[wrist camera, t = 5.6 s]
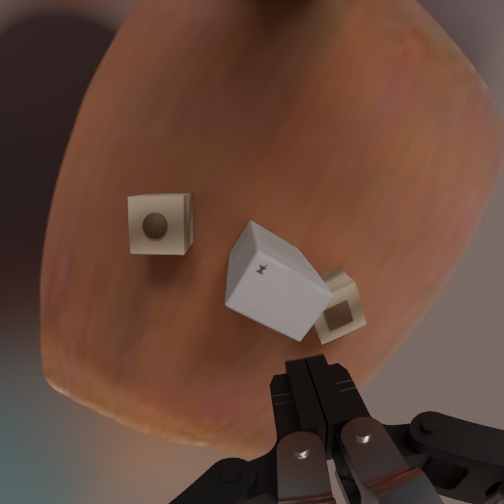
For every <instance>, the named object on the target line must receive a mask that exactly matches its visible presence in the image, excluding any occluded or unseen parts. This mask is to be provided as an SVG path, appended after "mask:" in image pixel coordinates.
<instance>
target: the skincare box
mask: <svg viewBox="0 0 504 504" xmlns="http://www.w3.org/2000/svg"><path fill="white" fill-rule="evenodd" d="M333 298H334V294H333V293H332V292H331V290H330V289H329V288H328V287H327V285H326V284H325V282H324V281H323V280H322V279H321V277H320V276H319V275H318V273H317V272H316V271H315V270H314V268H313V267H312V266H311V265H310V263H309V262H308V261H307V259H306V258H305V257H304V256H303V254H302V253H301V252H300V251H299V249H298V248H296V247H295V246H293V245H291V244H290V243H288V242H287V241H285V240H283V239H282V238H280V237H278V236H277V235H275V234H273V233H272V232H270V231H268V230H267V229H265V228H263V227H262V226H260V225H258V224H256V223H255V222H253V221H251V220H250V221H249V222H248V224H247V225H246V227H245V229H244V230H243V232H242V233H241V235H240V237H239V238H238V240H237V242H236V244H235V245H234V247H233V249H232V250H231V252H230V254H229V263H228V274H227V285H226V296H225V306H226V307H228V308H230V309H232V310H234V311H236V312H238V313H240V314H242V315H244V316H246V317H248V318H250V319H252V320H254V321H256V322H258V323H260V324H262V325H265V326H267V327H269V328H271V329H273V330H275V331H277V332H280V333H282V334H284V335H286V336H288V337H290V338H292V339H295V340H297V341H298V342H300V341H301V340H302V339H303V337H304V336H305V335H306V333H307V332H308V331H309V330H310V328H311V327H312V326H313V325H314V323H315V322H316V321H317V319H318V318H319V317H320V316H321V314H322V313H323V312H324V310H325V309H326V308H327V306H328V305H329V304H330V302H331V301H332V300H333Z"/></svg>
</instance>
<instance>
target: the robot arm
mask: <svg viewBox="0 0 504 504" xmlns="http://www.w3.org/2000/svg"><path fill="white" fill-rule="evenodd" d="M285 367H286V374H281V375H274V376H273V379H272V381H271V383H270V391H271V398H272V405H273V412H274V419H275V425H276V432H277V441H276V444H275V446H274V447H273V448H272V450H271V451H270V452H268V453H267V454H265V455H264V456H261V457H259V458H257V459H254V460H252V461H249V462H248V461H246V460H243V459H240V458H226V459H222V460H220V461H218V462H216V463H215V464H214V465H213V466H211V467H210V468H209V469H208V470H207V471H206V472H205V473H204V474H203V475H202V476H201V477H199V478H198V479H197V480H196V481H195V482H194V483H193V484H191V485H190V486H189V487H188V488H187V489H186V490H185V491H183V492H182V493H181V494H180V495H179V496H177V497H176V498H175V499H174V500H172V501H171V502H170V503H169V504H336V500H335V498H333V495H332V490H331V484H330V478H329V472H328V466H327V461H326V460H330V459H333V460H334V463H335V466H336V470H335V476H336V479H337V482H338V484H339V486H340V489H341V491H342V494H343V496H344V499H345V501H346V504H444V503H443V501H442V500H441V498H440V496H439V495H443V496H446V497H449V498H452V499H456V500H460V501H464V502H468V503H472V504H504V430H500V429H496V428H492V427H488V426H484V425H479V424H475V423H472V422H468V421H465V420H461V419H458V418H454V417H451V416H447V415H444V414H441V413H438V412H432V411H428V412H423V413H420V414H419V415H417V416H416V417H415V418H413V420H412V422H411V423H410V424H401V425H385V424H381V423H380V422H379V421H378V420H376V419H374V418H372V417H371V416H370V414H369V412H368V410H367V408H366V406H365V404H364V402H363V400H362V398H361V396H360V394H359V392H358V390H357V388H356V387H355V384H354V382H353V381H352V378H351V376H350V374H349V373H348V371H347V369H345V368H344V367H343V366H341V365H340V364H339V363H336V364H332V365H328V363H327V361H326V358H325V356H324V354H319V355H314V356H309V357H305V358H299V359H293V360H287V361H285ZM438 494H439V495H438Z"/></svg>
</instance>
